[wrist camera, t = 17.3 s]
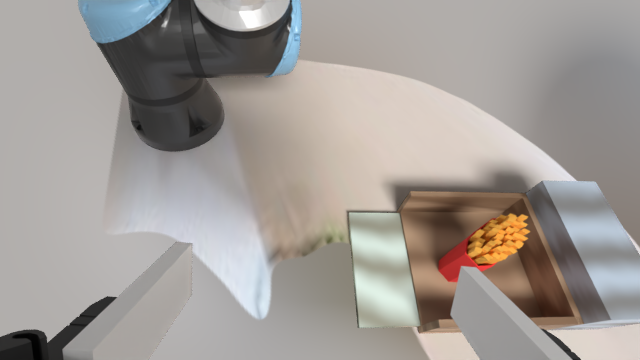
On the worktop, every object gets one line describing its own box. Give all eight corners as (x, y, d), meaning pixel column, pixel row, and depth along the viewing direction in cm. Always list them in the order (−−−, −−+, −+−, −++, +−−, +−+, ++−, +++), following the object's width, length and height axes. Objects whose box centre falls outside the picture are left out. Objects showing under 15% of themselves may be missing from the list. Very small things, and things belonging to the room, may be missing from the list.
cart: (347, 210, 48) (360, 176, 39) (544, 213, 51) (595, 181, 42) (358, 334, 39) (377, 325, 30) (599, 328, 42) (677, 318, 33)
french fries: (464, 237, 45) (514, 199, 35) (485, 258, 44) (543, 225, 34) (426, 270, 42) (469, 238, 32) (447, 294, 41) (500, 269, 31)
